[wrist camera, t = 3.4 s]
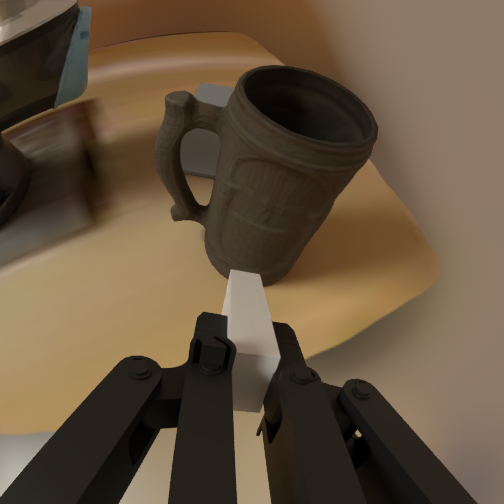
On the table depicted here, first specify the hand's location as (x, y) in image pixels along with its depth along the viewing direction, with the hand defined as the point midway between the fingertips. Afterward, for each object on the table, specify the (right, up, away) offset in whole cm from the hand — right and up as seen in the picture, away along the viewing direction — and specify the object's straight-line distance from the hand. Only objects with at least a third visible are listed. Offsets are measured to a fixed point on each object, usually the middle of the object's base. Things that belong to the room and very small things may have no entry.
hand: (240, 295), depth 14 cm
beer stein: (-2, +3, +17) cm, 18 cm away
